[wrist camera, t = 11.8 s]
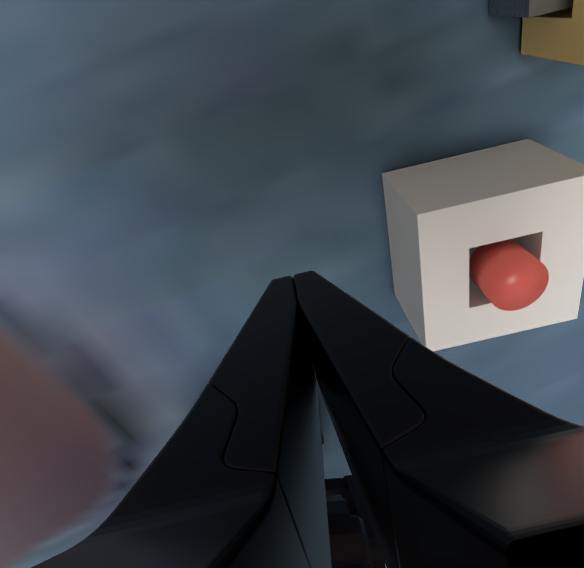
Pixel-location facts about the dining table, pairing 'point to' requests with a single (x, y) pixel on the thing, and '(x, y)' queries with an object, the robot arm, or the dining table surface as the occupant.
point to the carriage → (556, 35)
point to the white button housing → (484, 238)
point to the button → (508, 274)
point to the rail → (526, 7)
